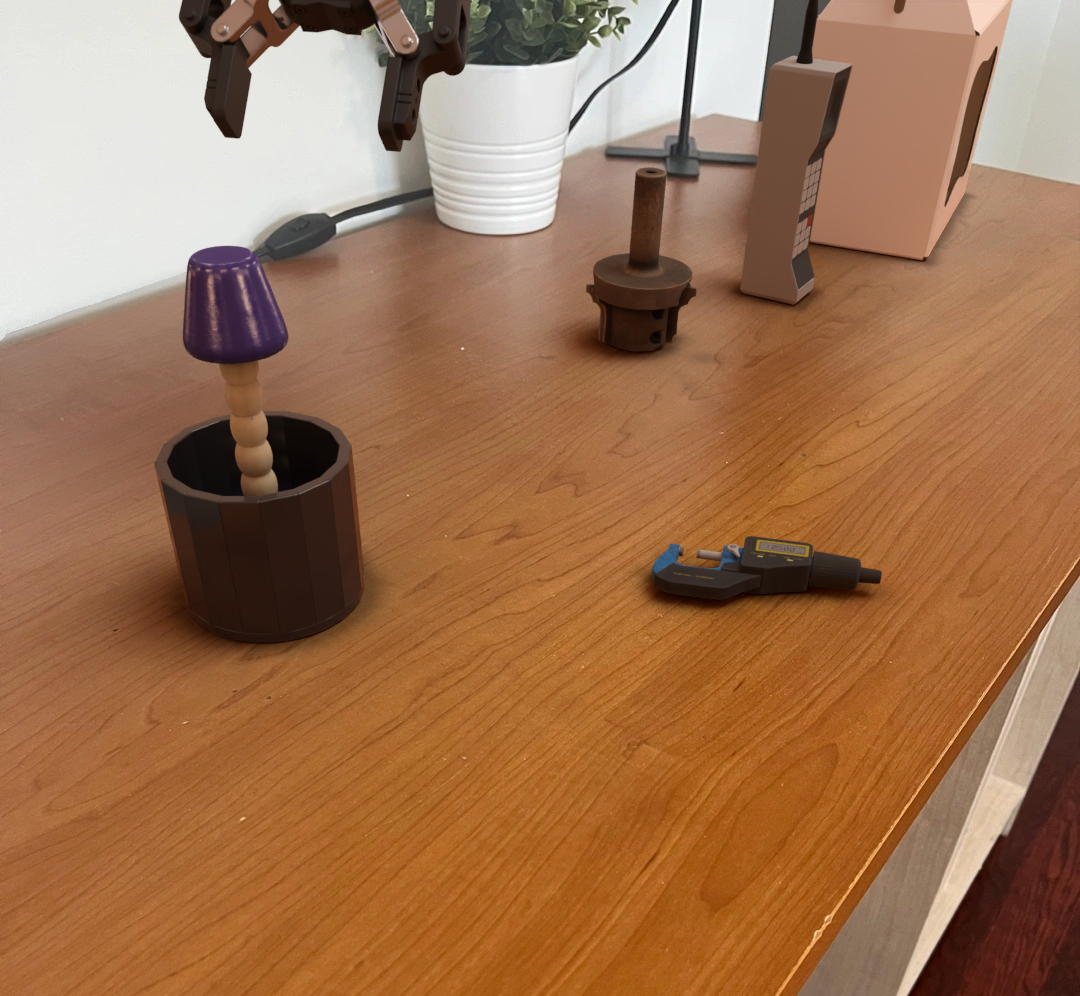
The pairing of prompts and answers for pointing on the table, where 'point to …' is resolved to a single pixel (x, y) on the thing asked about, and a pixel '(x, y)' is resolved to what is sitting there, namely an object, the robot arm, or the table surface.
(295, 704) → the table surface
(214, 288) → the toy lamp
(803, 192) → the vintage mobile phone
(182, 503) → the holder
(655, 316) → the industrial component
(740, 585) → the micrometer
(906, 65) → the gable box
